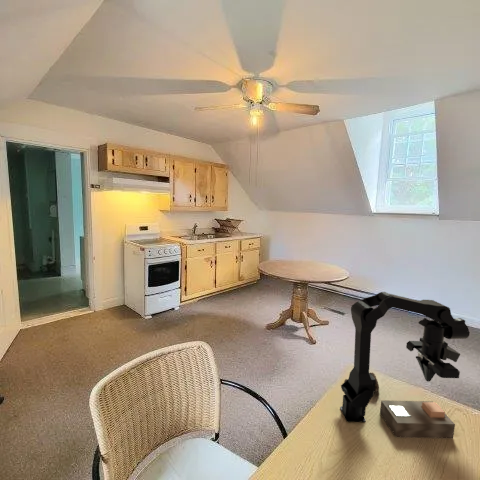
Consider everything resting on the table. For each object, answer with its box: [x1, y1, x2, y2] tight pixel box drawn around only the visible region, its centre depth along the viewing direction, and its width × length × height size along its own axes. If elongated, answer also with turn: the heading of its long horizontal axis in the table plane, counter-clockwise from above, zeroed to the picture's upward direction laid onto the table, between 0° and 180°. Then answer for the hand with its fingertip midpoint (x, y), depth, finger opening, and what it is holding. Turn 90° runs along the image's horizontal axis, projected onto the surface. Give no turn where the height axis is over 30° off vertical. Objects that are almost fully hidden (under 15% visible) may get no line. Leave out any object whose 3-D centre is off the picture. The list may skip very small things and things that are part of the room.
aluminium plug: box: [389, 406, 410, 417], centre depth 92 cm, size 4×4×5 cm
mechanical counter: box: [343, 372, 380, 396], centre depth 110 cm, size 7×13×10 cm
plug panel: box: [379, 399, 456, 439], centre depth 92 cm, size 18×10×5 cm, turn 90°
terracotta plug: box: [422, 401, 446, 418], centre depth 92 cm, size 4×4×5 cm
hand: (427, 380), depth 97 cm, fingers closed
